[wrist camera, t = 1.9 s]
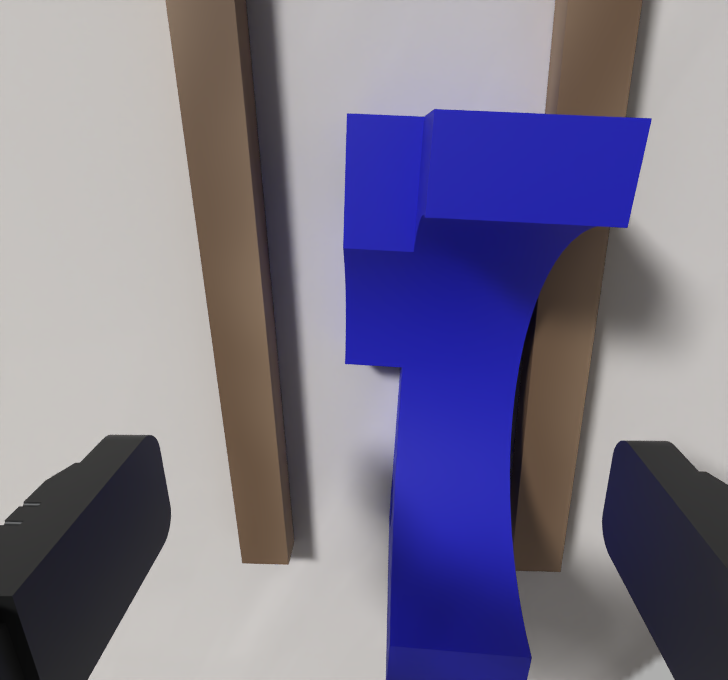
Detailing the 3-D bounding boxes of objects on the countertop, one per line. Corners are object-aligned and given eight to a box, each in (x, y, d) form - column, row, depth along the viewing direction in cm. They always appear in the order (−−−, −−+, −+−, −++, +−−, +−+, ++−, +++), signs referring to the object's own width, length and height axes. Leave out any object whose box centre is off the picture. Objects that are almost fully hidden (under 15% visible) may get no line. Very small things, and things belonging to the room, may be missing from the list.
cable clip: (357, 118, 13) (328, 104, 7) (541, 126, 13) (651, 118, 7) (344, 511, 17) (319, 688, 12) (480, 521, 17) (520, 706, 12)
